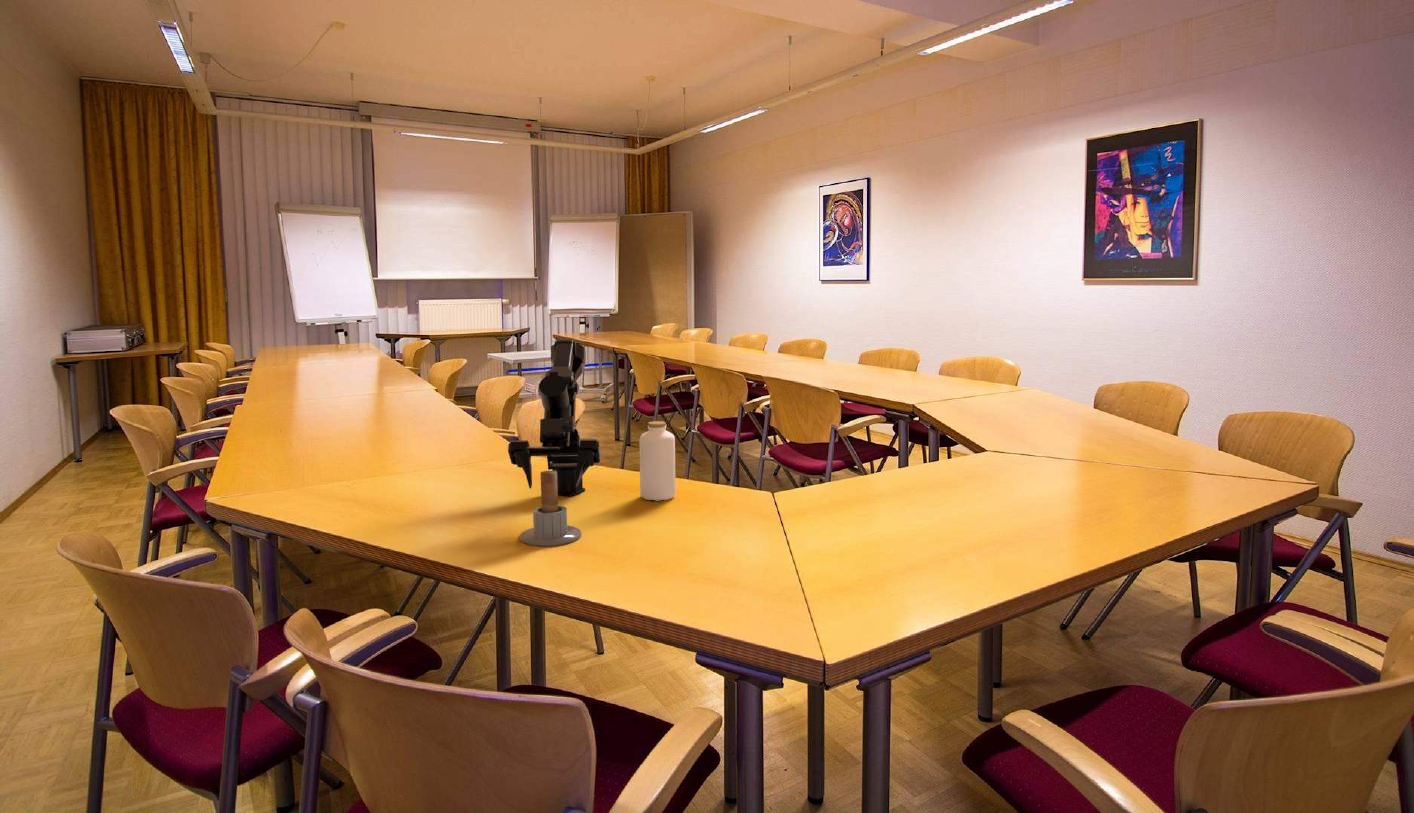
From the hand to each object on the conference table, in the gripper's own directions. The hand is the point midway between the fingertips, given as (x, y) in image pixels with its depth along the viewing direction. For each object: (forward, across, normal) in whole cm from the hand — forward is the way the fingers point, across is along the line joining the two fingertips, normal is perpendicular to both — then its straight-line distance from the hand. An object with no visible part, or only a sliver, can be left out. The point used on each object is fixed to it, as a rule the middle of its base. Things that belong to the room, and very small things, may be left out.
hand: (552, 486), depth 159 cm
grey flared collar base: (+10, 0, +2) cm, 10 cm away
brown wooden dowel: (+10, 0, +2) cm, 10 cm away
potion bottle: (-9, +22, +22) cm, 32 cm away
